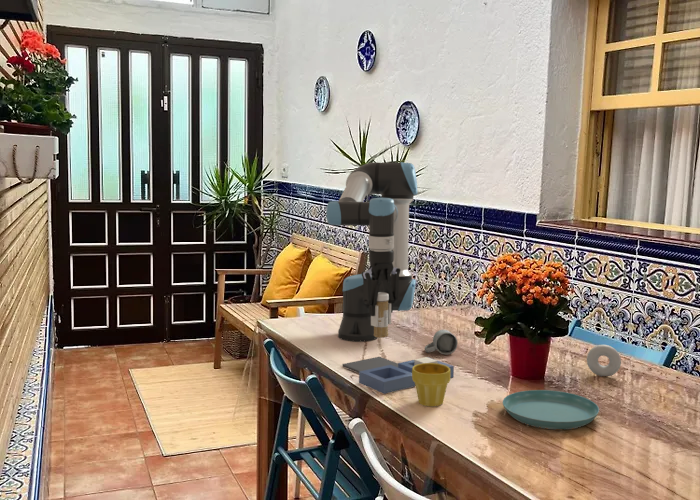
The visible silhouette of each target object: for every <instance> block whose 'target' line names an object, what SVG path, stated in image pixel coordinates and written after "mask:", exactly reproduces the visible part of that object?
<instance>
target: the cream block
mask: <svg viewBox="0 0 700 500" xmlns="http://www.w3.org/2000/svg"><path fill="white" fill-rule="evenodd" d="M428 357H429V356H426V357H420V358H416V359H413V360H414V366H415V365H417V364H422V363H437V360H438V359H435V360H434V358H432V357H429V358H428ZM431 358H432V359H431Z"/></svg>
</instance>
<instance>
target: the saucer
mask: <svg viewBox="0 0 700 500" xmlns="http://www.w3.org/2000/svg"><path fill="white" fill-rule="evenodd" d="M502 405H503V408H504V410H505V411H506V412H507V413H508V415H510V416H511V417H512V418H513V419H515V420H516V421H518V422H520V423H522V424H524V423H525V425H527V424H528V425H527V426H530V425H531V426H530V427H534V426H535V428H539V427H541V428H540V429H545V428H548V429H547V430H556V429H564V430H573V429H572V428H574V429H579V428H582V427H583V426H587V425H588V424H590V423H591V422H592V421H594V419H595V418H596V417H597V416H598V414H599V413H600V407H599V406H598V404H597V403H595V402H594V401H592V400H591V399H589V398H587V397H584V396H581V395H579V394H575V393H571V392H565V391H560V390H559V391H558V390H548V389H533V390H532V389H531V390H523V391H522V390H521V391H516V392H513V393H510V394H508V395H506V396H505V397H504V398H503V399H502ZM581 426H582V427H581ZM578 427H579V428H578Z"/></svg>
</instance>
